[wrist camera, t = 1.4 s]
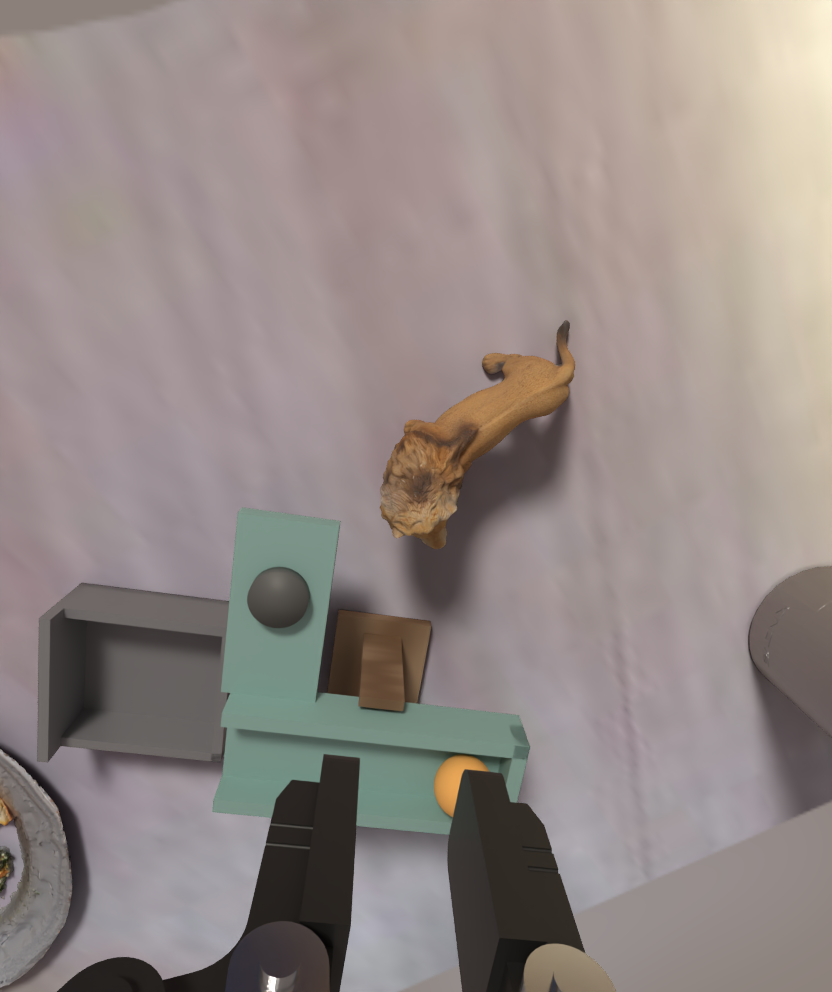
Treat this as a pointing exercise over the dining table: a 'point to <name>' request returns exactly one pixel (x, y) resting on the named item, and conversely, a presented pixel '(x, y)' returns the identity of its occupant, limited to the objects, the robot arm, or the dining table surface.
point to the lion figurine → (466, 440)
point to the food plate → (31, 873)
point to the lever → (322, 716)
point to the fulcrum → (378, 659)
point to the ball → (453, 779)
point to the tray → (132, 674)
